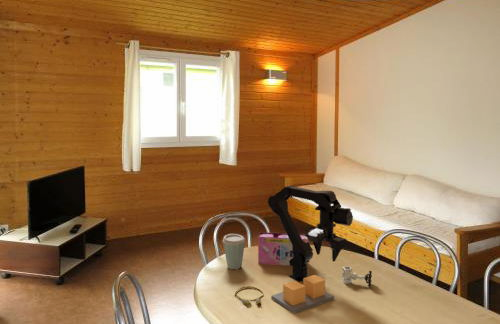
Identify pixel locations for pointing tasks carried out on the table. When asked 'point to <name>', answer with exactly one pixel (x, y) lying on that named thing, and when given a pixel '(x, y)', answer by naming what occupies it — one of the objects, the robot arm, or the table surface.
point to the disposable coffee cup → (234, 250)
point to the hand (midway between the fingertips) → (325, 257)
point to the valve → (354, 276)
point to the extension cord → (250, 300)
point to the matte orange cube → (294, 292)
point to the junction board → (307, 295)
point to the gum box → (276, 248)
